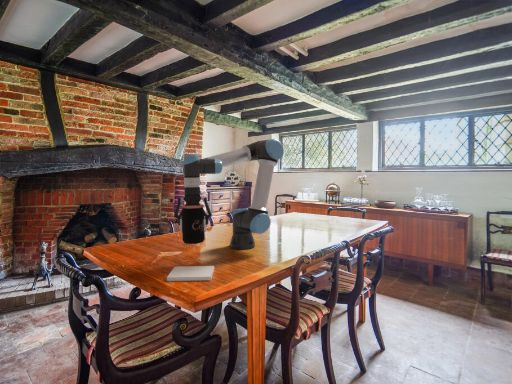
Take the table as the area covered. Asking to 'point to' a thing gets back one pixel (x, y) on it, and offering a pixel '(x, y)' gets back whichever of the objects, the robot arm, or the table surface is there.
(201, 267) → the plate
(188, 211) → the coffee jar
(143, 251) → the table surface
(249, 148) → the robot arm
